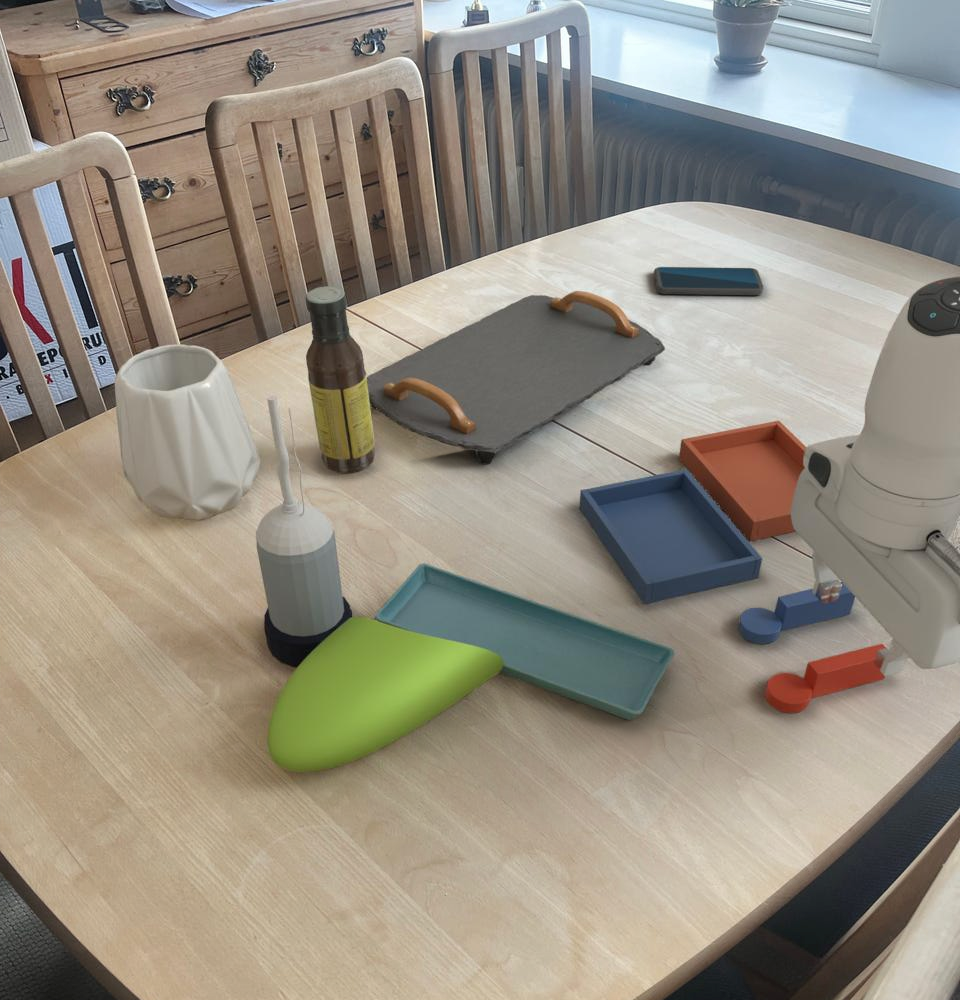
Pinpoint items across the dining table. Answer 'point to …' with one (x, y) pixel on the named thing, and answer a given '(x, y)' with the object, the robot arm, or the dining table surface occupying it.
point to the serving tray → (512, 371)
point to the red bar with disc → (823, 679)
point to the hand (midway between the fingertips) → (854, 632)
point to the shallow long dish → (532, 640)
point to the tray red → (749, 474)
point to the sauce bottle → (338, 385)
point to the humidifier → (297, 567)
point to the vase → (183, 433)
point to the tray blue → (668, 536)
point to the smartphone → (708, 281)
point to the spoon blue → (792, 614)
